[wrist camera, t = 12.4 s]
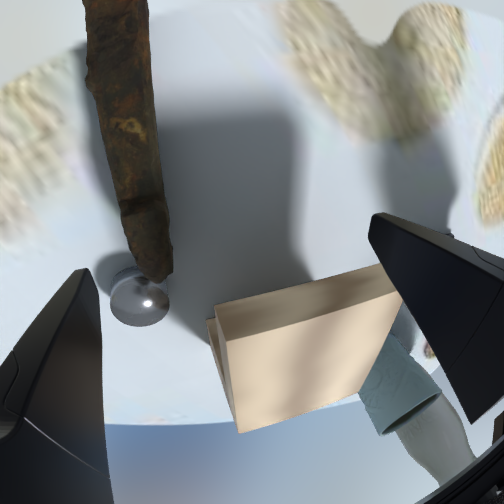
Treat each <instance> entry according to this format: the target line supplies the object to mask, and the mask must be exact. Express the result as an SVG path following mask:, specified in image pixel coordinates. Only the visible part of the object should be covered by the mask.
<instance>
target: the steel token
mask: <svg viewBox="0 0 504 504" xmlns="http://www.w3.org/2000/svg"><path fill="white" fill-rule="evenodd" d="M169 305H170V304H169V297H168V291H167V286H166V282H165V280H164V281H163V282H162V283H160V284H155V283H153V282H151V281H150V280H149V279H148V278H146V277H145V276H144V274H143V273H142V272H141V271H140V269H139V267H131V268H127V269H125V270H123V271H121V272H120V273H118V274H117V275H116V276H115V277H114V279H113V281H112V283H111V295H110V308H111V311H112V313H113V315H114V316H115V317H116V318H117V319H118V320H119V321H120V322H122V323H124V324H127V325H130V326H136V327H142V326H149V325H152V324H155V323H157V322H159V321H160V320H161V319H163V318H164V317H165V315H166V314H167V312H168V310H169Z"/></svg>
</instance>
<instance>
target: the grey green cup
mask: <svg viewBox="0 0 504 504" xmlns="http://www.w3.org/2000/svg"><path fill="white" fill-rule="evenodd" d="M441 393H442V390H441V389H440V388H439V387H438V385H437V384H436V383H435V382H434V381H433V380H432V379H431V377H430V376H429V375H428V374H427V373H426V372H424V371H423V369H422V368H421V367H420V366H419V365H418V363H417V362H416V361H415V360H414V358H413V357H412V356H410V355H409V353H408V352H407V351H406V350H405V349H404V348H403V346H402V345H401V344H400V342H399V341H398V340H397V339H396V338H395V337H394V335H393V334H391V333H390V332H389V333H388V335H387V337H386V340H385V342H384V344H383V346H382V348H381V350H380V352H379V354H378V356H377V358H376V360H375V362H374V364H373V366H372V368H371V370H370V372H369V374H368V375H367V377H366V379H365V381H364V383H363V385H362V387H361V388H360V390H359V392H358V394H359V397H360V398H361V400H362V402H363V403H364V404H365V409H366V411H367V413H368V414H369V416H370V418H371V420H372V422H373V424H374V426H375V428H376V430H377V432H378V434H379V436H385V435H388V434H390V433H392V432H394V431H396V430H397V429H399V428H401V427H402V426H404V425H406V424H407V423H409V422H410V421H411V420H413V419H414V418H416V417H417V416H418V415H420V414H421V413H422V412H423V411H425V410H426V409H427V408H428V407H429V406H430V405H431V404H433V403H434V402H435V401H436V400H437V399H438V397H439V396H440V395H441Z"/></svg>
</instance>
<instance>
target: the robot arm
mask: <svg viewBox="0 0 504 504" xmlns="http://www.w3.org/2000/svg"><path fill="white" fill-rule="evenodd" d="M368 240H369V242H370V244H371V246H372V248H373V250H374V251H375V253H376V255H377V257H378V259H379V261H380V263H381V264H382V266H383V268H384V270H385V272H386V274H387V276H388V277H389V279H390V281H391V282H392V284H393V285H394V287H395V288H396V290H397V292H398V293H399V295H400V296H401V298H402V299H403V301H404V303H405V304H406V306H407V308H408V309H409V311H410V312H411V314H412V316H413V317H414V319H415V321H416V322H417V324H418V326H419V327H420V329H421V331H422V333H423V334H424V336H425V338H426V340H427V341H428V343H429V345H430V347H431V348H432V350H433V352H434V354H435V355H436V357H437V359H438V361H439V363H440V365H441V366H442V368H443V370H444V372H445V373H446V376H447V378H448V380H449V382H450V384H451V386H452V388H453V390H454V392H455V394H456V396H457V398H458V399H459V402H460V404H461V406H462V408H463V410H464V412H465V414H466V416H467V418H468V421H469V422H470V424H471V425H472V424H473V423H475V422H476V421H477V420H478V419H479V418H481V417H482V416H483V415H484V414H486V413H487V412H488V411H489V410H490V409H491V408H493V407H494V406H495V405H496V404H497V403H498V402H499V401H501V399H503V398H504V259H503V258H501V257H498V256H496V255H493V254H491V253H488V252H486V251H483V250H481V249H479V248H476V247H474V246H471V245H469V244H467V243H464V242H462V241H459V240H457V239H454V235H453V234H452V233H451V234H447V235H444V234H442V233H439V232H436V231H434V230H431V229H429V228H426V227H423V226H421V225H418V224H415V223H412V222H410V221H407V220H404V219H401V218H399V217H396V216H393V215H390V214H387V213H383V212H382V213H376V214H374V215H373V216H372V218H371V222H370V227H369V232H368ZM109 478H110V475H109V467H108V459H107V450H106V440H105V427H104V411H103V387H102V332H101V319H100V304H99V293H98V289H97V287H96V285H95V282H94V280H93V277H92V275H91V272H90V271H89V269H87V268H83V269H78V270H75V271H74V272H73V273H72V274H71V275H70V277H69V278H68V279H67V280H66V281H65V282H64V284H63V285H62V286H61V287H60V288H59V289H58V291H57V292H56V293H55V294H54V296H53V297H52V298H51V299H50V300H49V302H48V303H47V304H46V305H45V307H44V308H43V309H42V310H41V312H40V313H39V314H38V316H37V317H36V318H35V319H34V321H33V322H32V323H31V325H30V326H29V327H28V329H27V330H26V331H25V333H24V334H23V335H22V337H21V338H20V339H19V341H18V342H17V343H16V345H15V346H14V348H13V351H11V352H10V353H9V355H8V356H7V358H6V359H5V360H4V362H3V363H2V365H1V366H0V504H114V501H113V494H112V488H111V481H110V479H109ZM415 504H504V411H503V412H502V413H501V414H500V415H499V416H497V418H495V421H494V432H493V441H492V446H491V447H490V448H489V449H487V450H486V451H485V452H484V453H483V454H482V455H481V456H480V457H478V458H477V459H476V460H475V461H473V462H472V463H471V464H470V465H469V466H467V467H466V468H465V469H464V470H462V471H461V472H460V473H458V474H457V475H456V476H454V477H453V478H452V479H450V480H449V481H448V482H446V483H445V484H444V485H442V486H441V487H439V488H438V489H436V490H435V491H434V492H432V493H431V494H429V495H428V496H426V497H425V498H423V499H421V500H420V501H418V502H417V503H415Z"/></svg>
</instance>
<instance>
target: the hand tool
mask: <svg viewBox="0 0 504 504" xmlns="http://www.w3.org/2000/svg"><path fill="white" fill-rule="evenodd" d="M82 2H83V5H84V7H85V12H86V16H85V21H86V32H87V58H86V64H87V66H88V73H87V76H86V78H85V82H86V86H87V88H88V89H89V91H90V92H91V93H92V94H93V96H94V98H95V101H96V105H97V111H98V116H99V122H100V128H101V133H102V139H103V142H104V145H105V150H106V154H107V159H108V162H109V166H110V170H111V174H112V179H113V183H114V187H115V191H116V196H117V200H118V203H119V206H120V209H121V222H122V226H123V228H124V233H125V235H126V237H127V241H128V245H129V249H130V251H131V253H132V254H133V256H134V258H135V261H136V263H137V266H138V267H139V269H140V271H141V272H142V273H143V274H144V276H145V277H146V278H148V279H149V280H150V281H151V282H153V283H155V284H160V283H162V282H163V281H164V280H165V279H166V277H167V276H168V275H170V274H171V273H173V247H172V245H171V242H170V238H169V222H170V220H169V211H168V207H167V203H166V198H165V195H164V186H163V180H162V172H161V164H160V158H159V150H158V138H157V126H156V116H155V107H154V93H153V86H152V74H151V52H150V43H149V9H148V3H147V0H82Z"/></svg>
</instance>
